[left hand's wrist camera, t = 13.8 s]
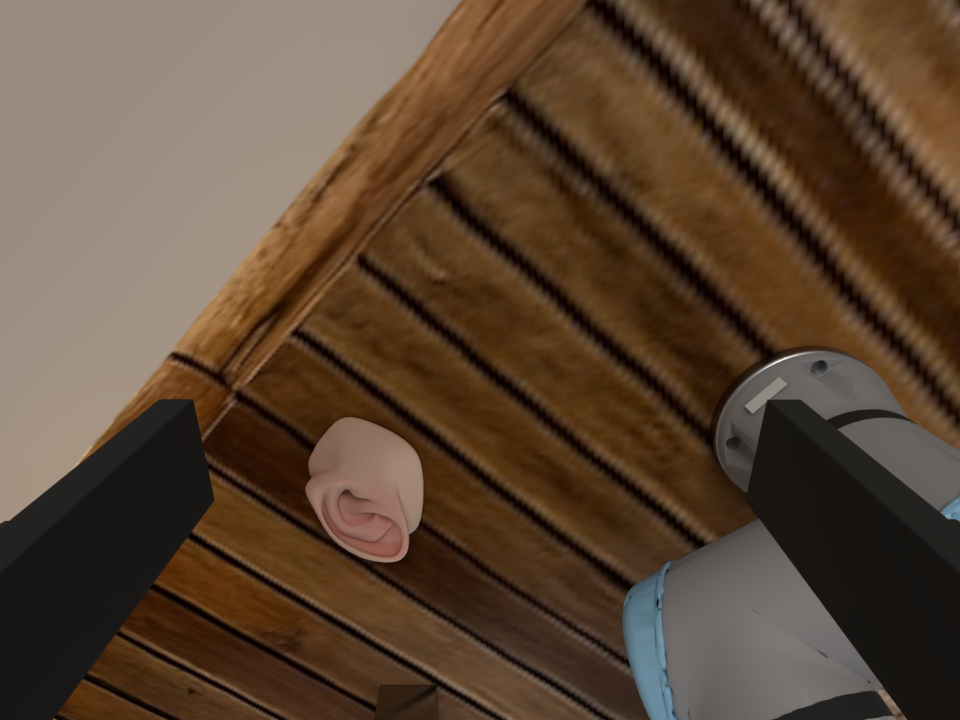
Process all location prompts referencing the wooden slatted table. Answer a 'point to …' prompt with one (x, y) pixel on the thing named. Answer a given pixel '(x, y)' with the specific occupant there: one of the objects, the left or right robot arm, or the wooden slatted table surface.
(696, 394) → the wooden slatted table surface
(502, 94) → the wooden slatted table surface
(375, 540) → the anatomical model
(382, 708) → the block
